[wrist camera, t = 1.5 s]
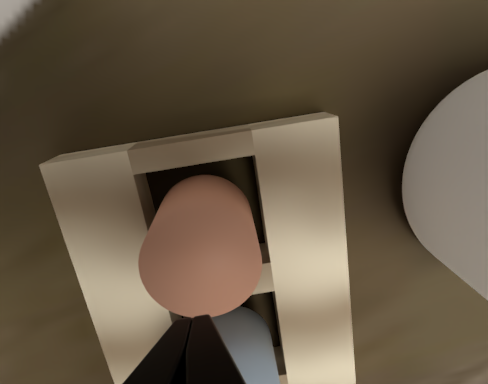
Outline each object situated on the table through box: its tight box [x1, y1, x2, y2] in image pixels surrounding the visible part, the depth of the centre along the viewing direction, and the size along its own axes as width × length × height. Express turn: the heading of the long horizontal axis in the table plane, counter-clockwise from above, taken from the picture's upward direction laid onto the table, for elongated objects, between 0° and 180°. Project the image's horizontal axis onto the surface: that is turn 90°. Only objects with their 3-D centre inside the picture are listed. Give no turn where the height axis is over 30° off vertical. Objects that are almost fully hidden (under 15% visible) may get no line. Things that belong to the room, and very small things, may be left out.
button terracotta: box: [138, 175, 262, 318], centre depth 13 cm, size 4×4×4 cm
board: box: [39, 112, 356, 384], centre depth 18 cm, size 20×12×2 cm, turn 9°
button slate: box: [211, 306, 280, 384], centre depth 15 cm, size 4×4×4 cm
